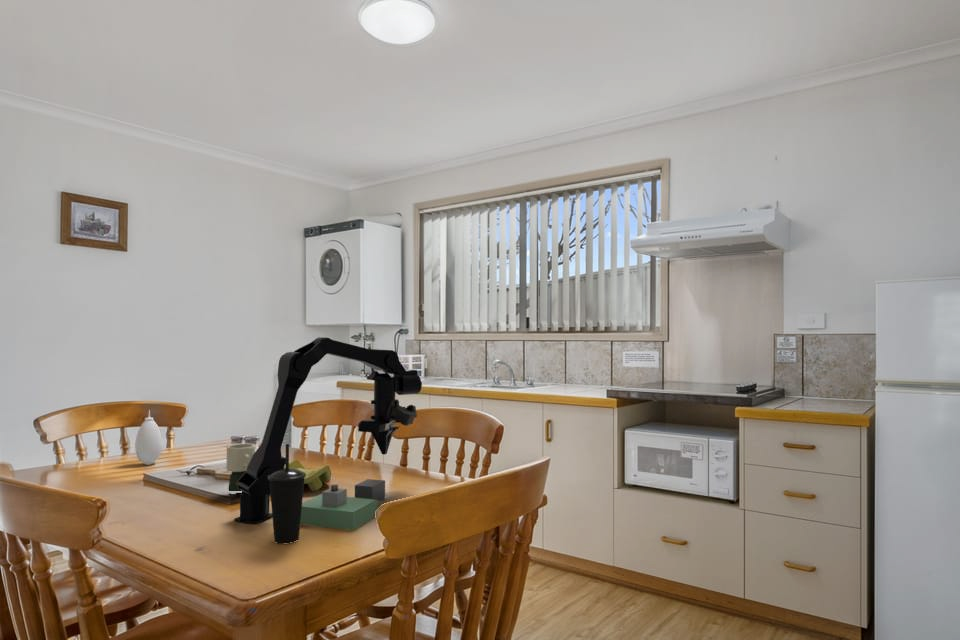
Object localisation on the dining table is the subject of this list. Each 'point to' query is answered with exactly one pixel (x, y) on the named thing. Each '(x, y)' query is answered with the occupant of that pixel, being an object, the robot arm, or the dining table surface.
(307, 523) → the green base with blocks
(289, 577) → the dining table surface
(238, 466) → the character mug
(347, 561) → the dining table surface
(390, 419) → the robot arm
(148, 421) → the white bulb air blower
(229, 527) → the dining table surface
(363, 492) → the charcoal rectangular prism
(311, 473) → the plastic component
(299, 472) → the drinking cup
